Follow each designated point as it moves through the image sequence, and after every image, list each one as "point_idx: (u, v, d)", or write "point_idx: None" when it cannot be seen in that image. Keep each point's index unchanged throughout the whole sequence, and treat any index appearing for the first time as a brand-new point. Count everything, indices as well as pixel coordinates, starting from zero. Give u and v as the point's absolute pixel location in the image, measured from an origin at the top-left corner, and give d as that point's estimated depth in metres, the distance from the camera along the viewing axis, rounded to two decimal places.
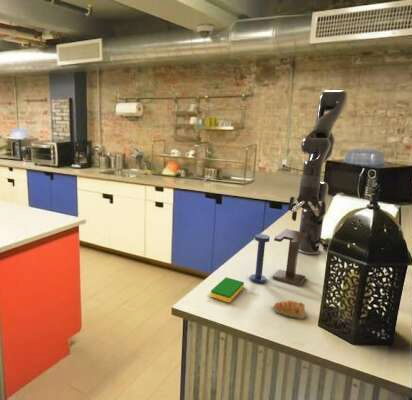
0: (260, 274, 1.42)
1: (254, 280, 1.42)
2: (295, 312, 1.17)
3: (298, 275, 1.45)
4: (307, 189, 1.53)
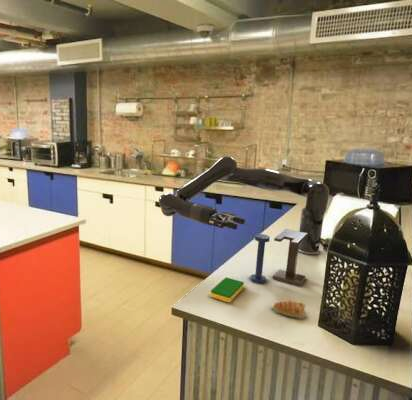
0: (260, 274, 1.42)
1: (254, 280, 1.42)
2: (295, 312, 1.17)
3: (298, 275, 1.45)
4: None
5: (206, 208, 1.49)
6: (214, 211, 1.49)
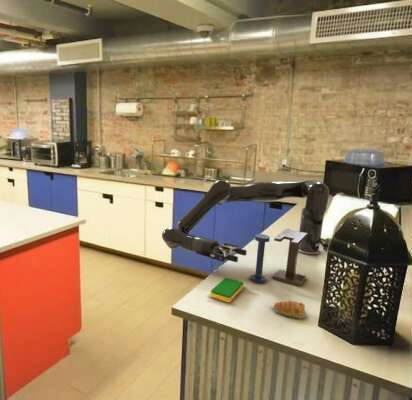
0: (260, 274, 1.42)
1: (254, 280, 1.42)
2: (295, 312, 1.17)
3: (298, 275, 1.45)
4: None
5: (207, 241, 1.53)
6: (215, 244, 1.53)
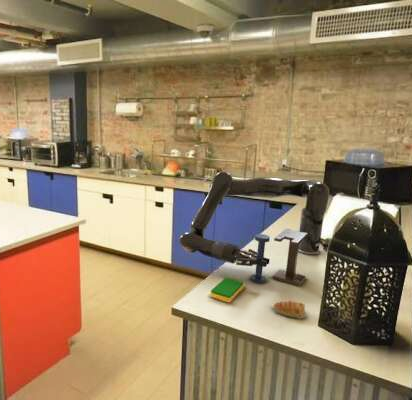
0: (260, 274, 1.42)
1: (254, 280, 1.42)
2: (295, 312, 1.17)
3: (298, 275, 1.45)
4: None
5: (228, 246, 1.47)
6: (236, 249, 1.47)
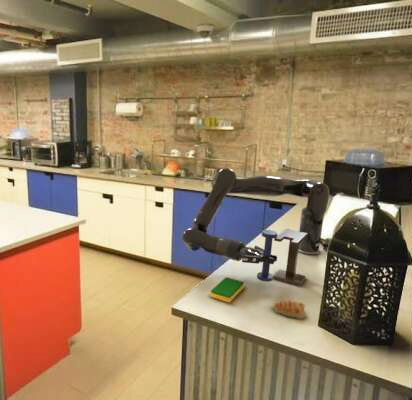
0: (267, 272, 1.35)
1: (261, 278, 1.35)
2: (295, 312, 1.17)
3: (298, 275, 1.45)
4: None
5: (233, 243, 1.40)
6: (242, 245, 1.40)
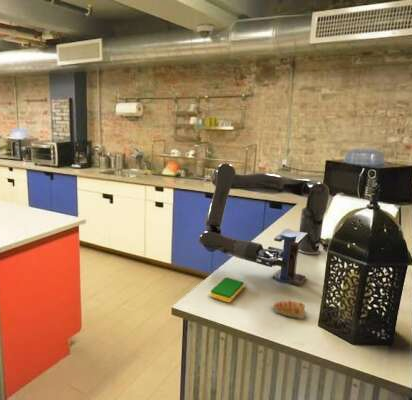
0: (285, 274, 1.36)
1: (279, 280, 1.36)
2: (295, 312, 1.17)
3: (298, 275, 1.45)
4: None
5: (251, 245, 1.42)
6: (260, 247, 1.42)
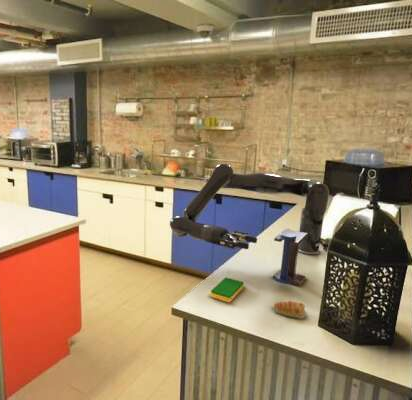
0: (285, 274, 1.36)
1: (279, 280, 1.36)
2: (295, 312, 1.17)
3: (298, 275, 1.45)
4: None
5: (217, 229, 1.50)
6: (225, 231, 1.50)
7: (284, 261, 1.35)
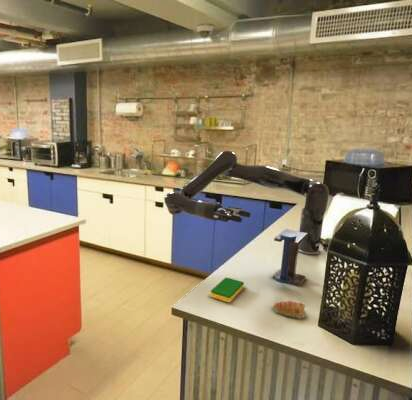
0: (285, 274, 1.36)
1: (279, 280, 1.36)
2: (295, 312, 1.17)
3: (298, 275, 1.45)
4: None
5: (210, 203, 1.49)
6: (219, 206, 1.49)
7: (284, 261, 1.35)
